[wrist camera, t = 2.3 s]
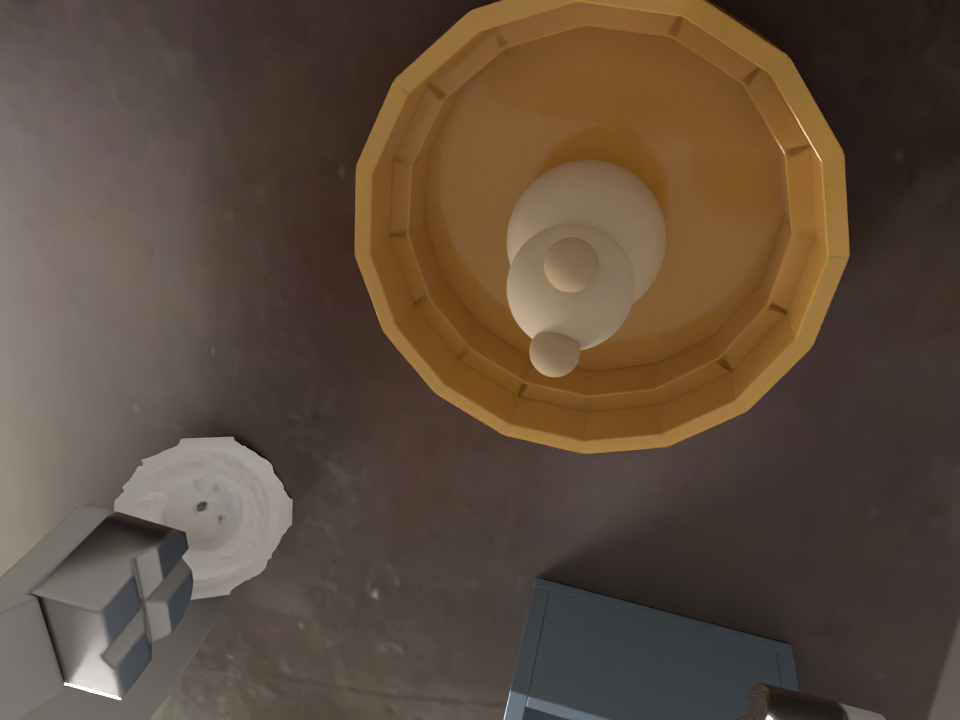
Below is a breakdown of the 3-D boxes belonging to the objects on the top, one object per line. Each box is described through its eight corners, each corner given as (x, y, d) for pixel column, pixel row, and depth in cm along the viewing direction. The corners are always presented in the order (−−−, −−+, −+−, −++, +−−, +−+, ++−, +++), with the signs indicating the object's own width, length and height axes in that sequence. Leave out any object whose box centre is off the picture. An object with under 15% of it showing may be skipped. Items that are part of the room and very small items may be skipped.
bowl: (896, 13, 21) (945, 25, 17) (743, 423, 29) (753, 494, 25) (410, -51, 23) (358, -53, 19) (391, 345, 31) (351, 399, 27)
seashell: (243, 432, 41) (95, 439, 35) (293, 434, 37) (137, 442, 32) (243, 572, 41) (92, 602, 35) (293, 587, 37) (135, 624, 31)
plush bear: (684, 157, 24) (687, 246, 16) (648, 295, 26) (637, 425, 19) (533, 132, 25) (472, 206, 17) (513, 268, 27) (453, 383, 20)
